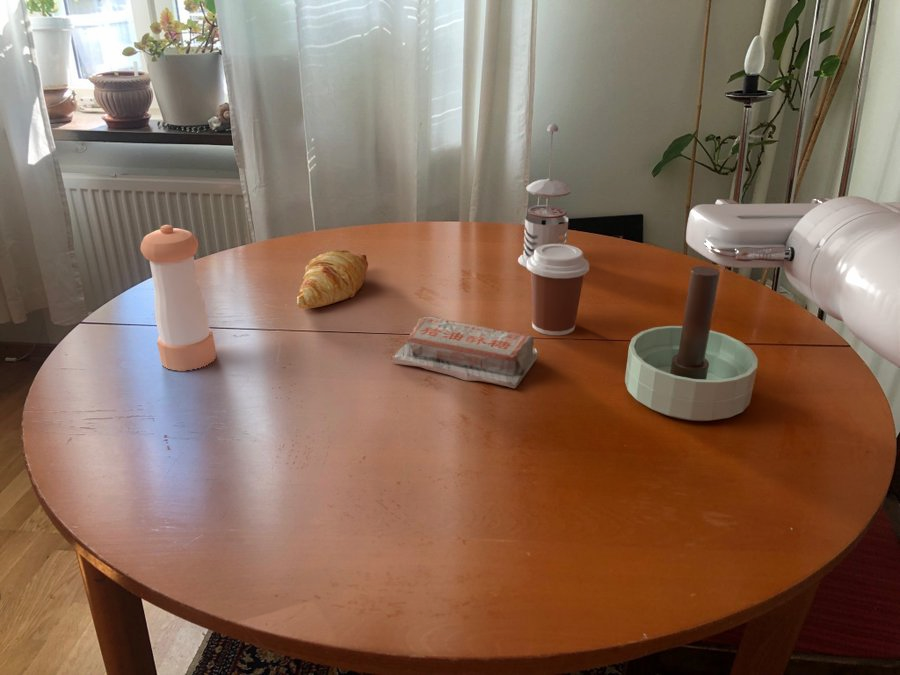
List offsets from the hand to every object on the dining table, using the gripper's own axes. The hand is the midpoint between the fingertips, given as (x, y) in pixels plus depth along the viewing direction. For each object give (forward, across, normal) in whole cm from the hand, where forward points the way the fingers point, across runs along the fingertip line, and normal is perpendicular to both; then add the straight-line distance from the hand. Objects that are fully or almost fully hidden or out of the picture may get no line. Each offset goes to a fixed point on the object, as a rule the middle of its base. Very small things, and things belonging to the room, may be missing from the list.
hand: (769, 206), depth 71 cm
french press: (+62, -10, -28) cm, 69 cm away
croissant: (+49, -48, -28) cm, 74 cm away
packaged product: (+22, -27, -28) cm, 45 cm away
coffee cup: (+33, -13, -28) cm, 45 cm away
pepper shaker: (+25, -66, -28) cm, 76 cm away
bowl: (+12, 0, -28) cm, 31 cm away
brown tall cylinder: (+12, 0, -27) cm, 30 cm away
